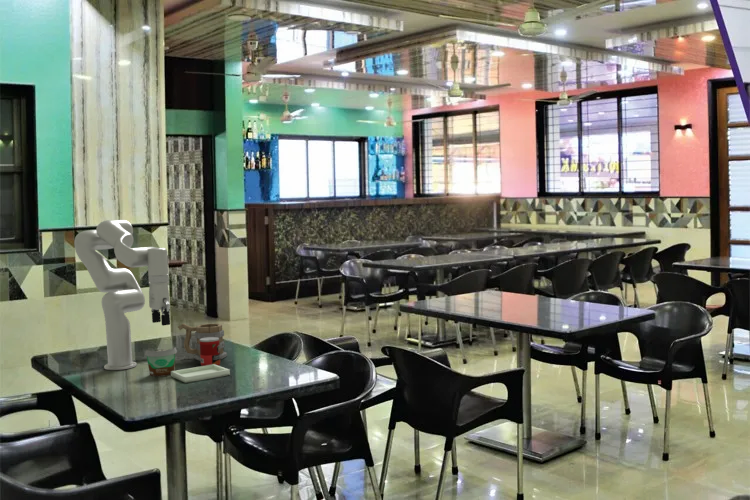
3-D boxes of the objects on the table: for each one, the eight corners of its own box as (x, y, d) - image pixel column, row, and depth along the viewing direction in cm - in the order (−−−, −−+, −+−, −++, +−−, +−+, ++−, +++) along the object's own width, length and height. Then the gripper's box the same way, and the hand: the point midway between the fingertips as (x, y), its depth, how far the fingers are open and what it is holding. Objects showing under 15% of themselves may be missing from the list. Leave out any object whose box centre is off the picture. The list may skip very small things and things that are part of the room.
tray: (171, 376, 299) (170, 371, 299) (214, 369, 310) (214, 364, 310) (185, 382, 288) (185, 377, 288) (229, 374, 298) (229, 369, 298)
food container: (149, 378, 297) (147, 352, 296) (145, 375, 302) (144, 350, 302) (181, 374, 303) (180, 348, 302) (177, 371, 308) (176, 346, 307)
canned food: (216, 367, 313) (214, 340, 312) (197, 367, 314) (196, 340, 314) (223, 363, 320) (222, 336, 319) (205, 363, 322) (204, 336, 321)
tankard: (230, 354, 338) (228, 320, 337) (219, 360, 325) (217, 325, 324) (186, 354, 341) (185, 320, 340) (174, 360, 329) (172, 325, 328)
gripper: (141, 279, 305) (143, 322, 306) (157, 282, 291) (160, 327, 292) (159, 277, 309) (162, 320, 310) (176, 280, 295) (179, 324, 296)
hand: (161, 323), depth 301 cm, fingers open, 9 cm apart
